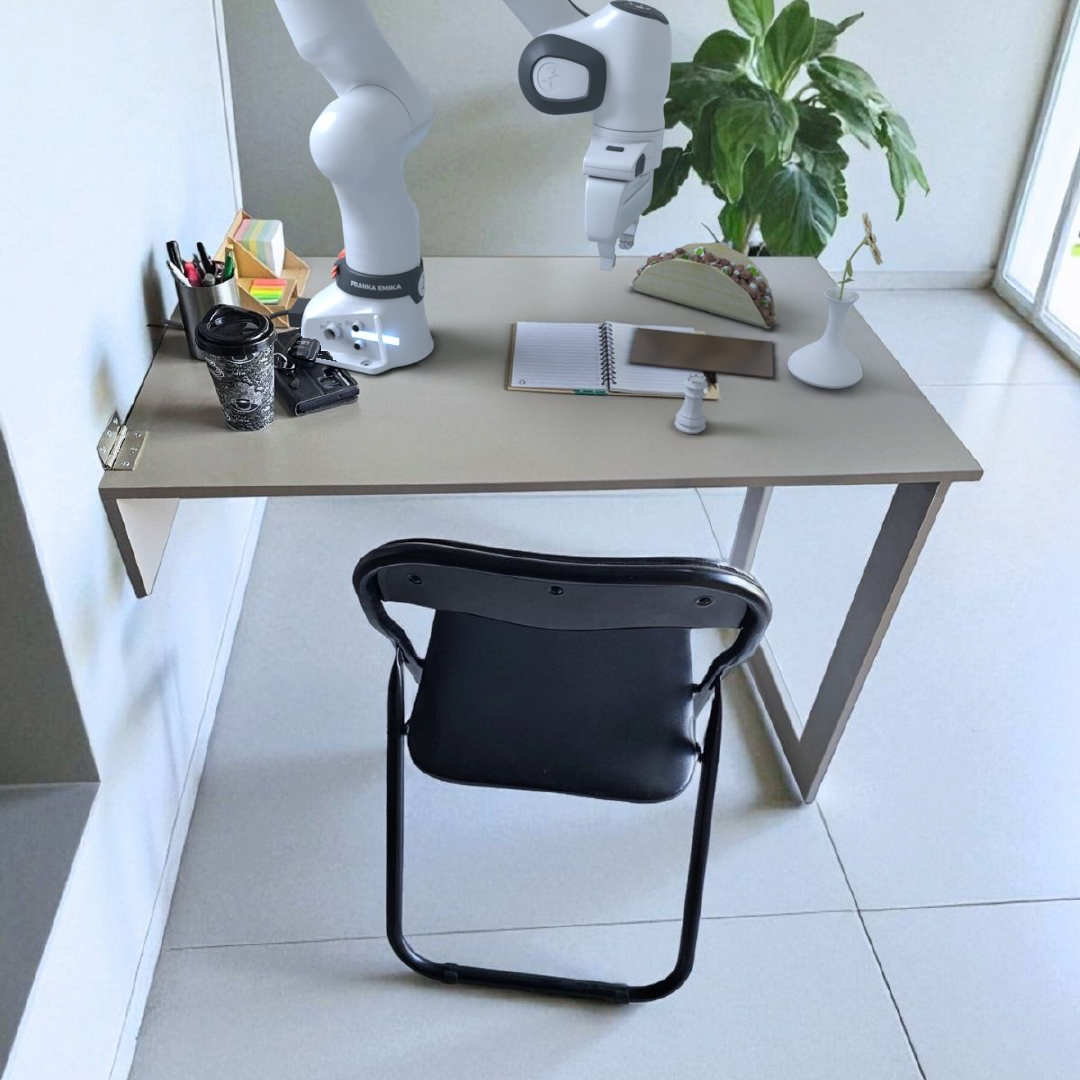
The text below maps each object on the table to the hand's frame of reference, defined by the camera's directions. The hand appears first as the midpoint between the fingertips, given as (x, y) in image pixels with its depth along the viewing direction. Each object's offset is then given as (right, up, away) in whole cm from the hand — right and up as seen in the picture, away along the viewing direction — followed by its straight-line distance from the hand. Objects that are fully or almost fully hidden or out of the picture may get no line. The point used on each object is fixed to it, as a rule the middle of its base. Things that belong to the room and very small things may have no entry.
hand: (616, 258), depth 137 cm
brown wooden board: (+16, -7, +29) cm, 34 cm away
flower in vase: (+34, -12, +25) cm, 44 cm away
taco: (+18, +3, +43) cm, 46 cm away
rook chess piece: (+11, -21, +11) cm, 26 cm away
